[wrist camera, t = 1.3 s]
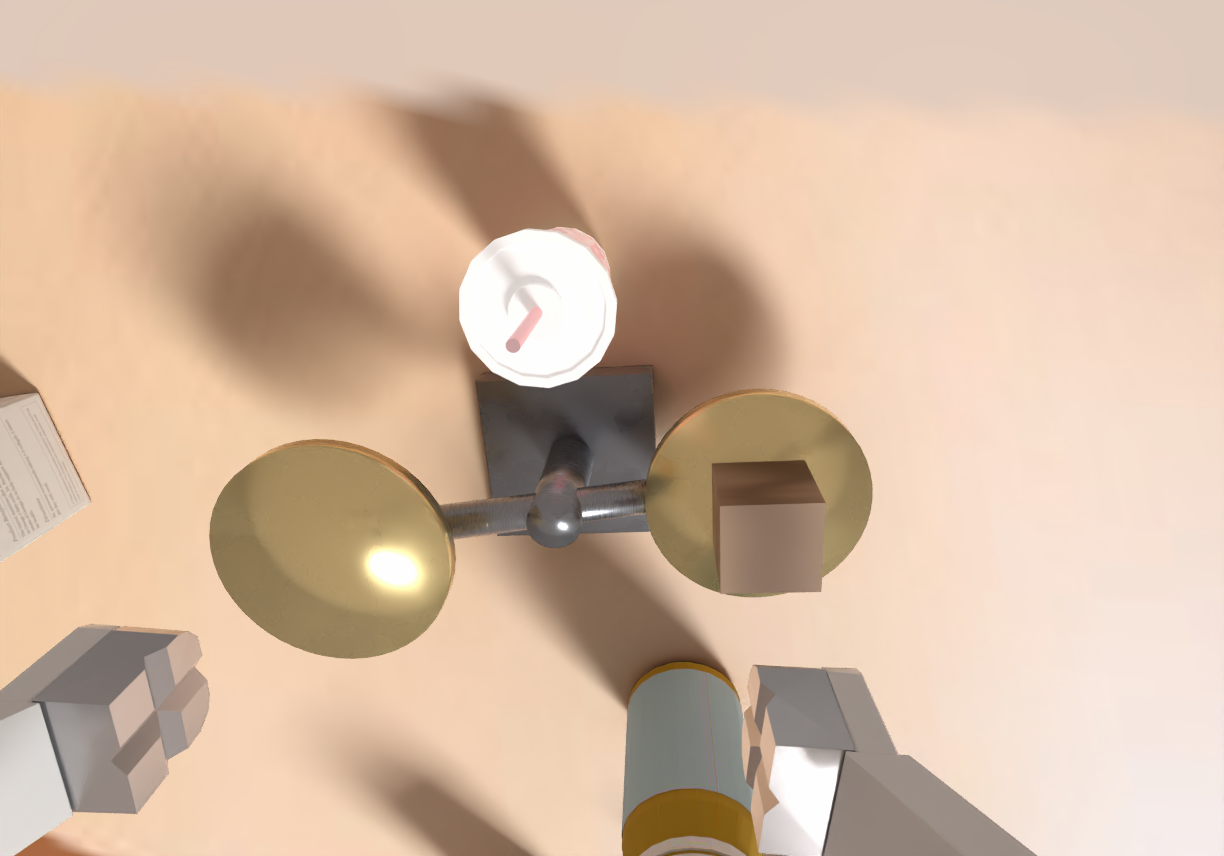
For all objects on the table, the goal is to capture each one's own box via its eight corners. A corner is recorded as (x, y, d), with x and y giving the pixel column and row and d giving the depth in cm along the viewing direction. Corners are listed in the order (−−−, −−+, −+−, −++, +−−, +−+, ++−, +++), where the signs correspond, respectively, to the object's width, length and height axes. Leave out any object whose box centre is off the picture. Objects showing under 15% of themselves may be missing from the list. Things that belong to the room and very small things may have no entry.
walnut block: (804, 459, 30) (825, 502, 27) (801, 540, 32) (821, 591, 28) (711, 463, 31) (719, 506, 27) (712, 542, 32) (720, 594, 28)
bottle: (642, 644, 43) (637, 879, 29) (752, 668, 43) (800, 913, 29) (617, 729, 46) (602, 982, 32) (721, 751, 46) (752, 1012, 32)
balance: (838, 346, 36) (913, 425, 26) (829, 520, 39) (891, 650, 29) (307, 372, 38) (179, 453, 28) (345, 534, 41) (244, 660, 31)
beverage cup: (650, 264, 35) (649, 331, 22) (576, 357, 37) (534, 470, 24) (551, 183, 34) (488, 202, 21) (480, 283, 36) (380, 359, 23)
